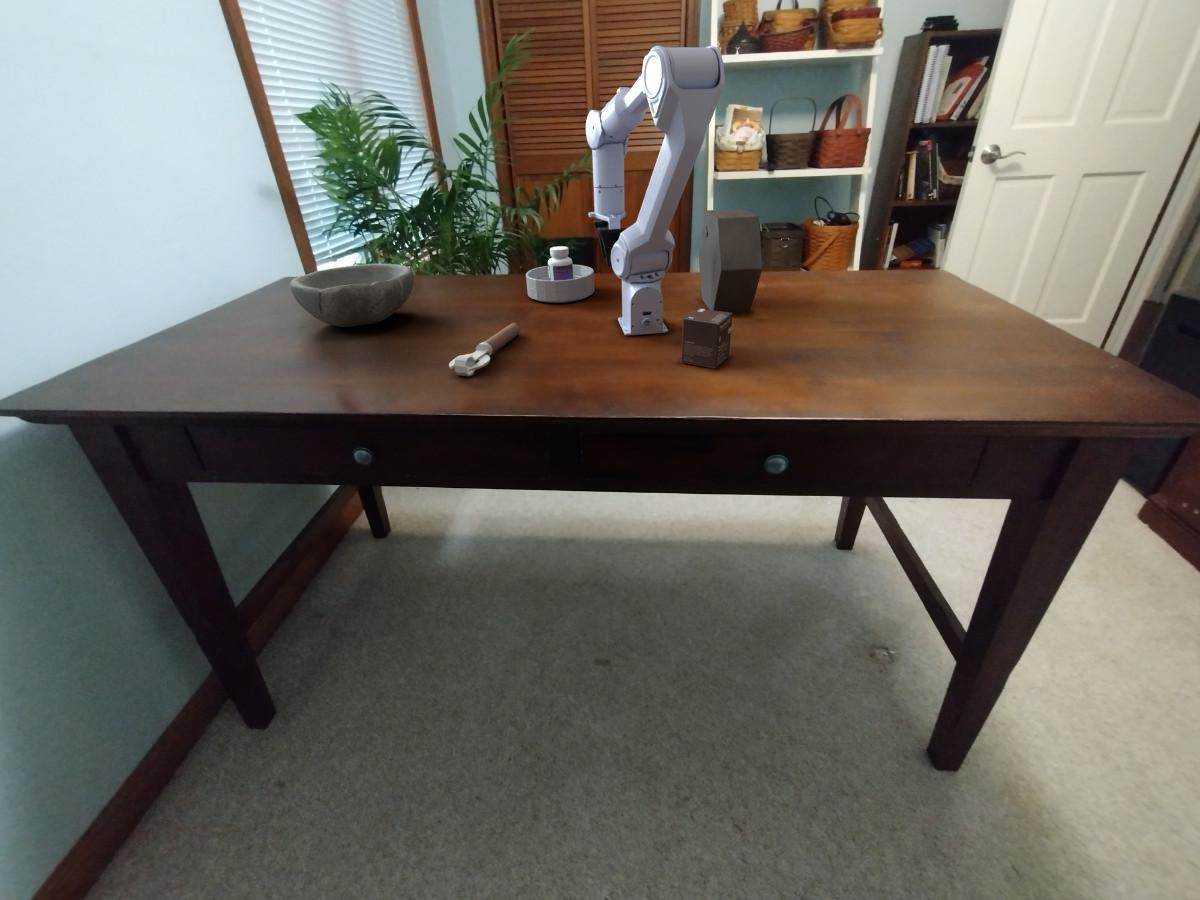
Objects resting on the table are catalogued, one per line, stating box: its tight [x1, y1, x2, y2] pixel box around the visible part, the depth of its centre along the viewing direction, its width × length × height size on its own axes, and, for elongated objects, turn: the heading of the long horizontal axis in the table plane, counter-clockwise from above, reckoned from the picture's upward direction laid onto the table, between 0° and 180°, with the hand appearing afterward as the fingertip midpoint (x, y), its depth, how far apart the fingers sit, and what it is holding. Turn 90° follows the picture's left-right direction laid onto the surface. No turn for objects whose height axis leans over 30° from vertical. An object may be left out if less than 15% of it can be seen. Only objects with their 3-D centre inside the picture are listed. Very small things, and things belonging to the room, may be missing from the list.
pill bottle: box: [547, 245, 574, 281], centre depth 120 cm, size 5×5×10 cm
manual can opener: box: [448, 322, 521, 377], centre depth 92 cm, size 21×6×3 cm, turn 167°
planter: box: [698, 208, 763, 313], centre depth 108 cm, size 17×8×21 cm
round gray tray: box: [525, 264, 595, 304], centre depth 122 cm, size 15×15×5 cm
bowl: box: [289, 263, 415, 328], centre depth 109 cm, size 23×22×10 cm
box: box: [680, 308, 734, 369], centre depth 85 cm, size 6×6×7 cm
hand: (610, 261), depth 108 cm, fingers open, 7 cm apart
